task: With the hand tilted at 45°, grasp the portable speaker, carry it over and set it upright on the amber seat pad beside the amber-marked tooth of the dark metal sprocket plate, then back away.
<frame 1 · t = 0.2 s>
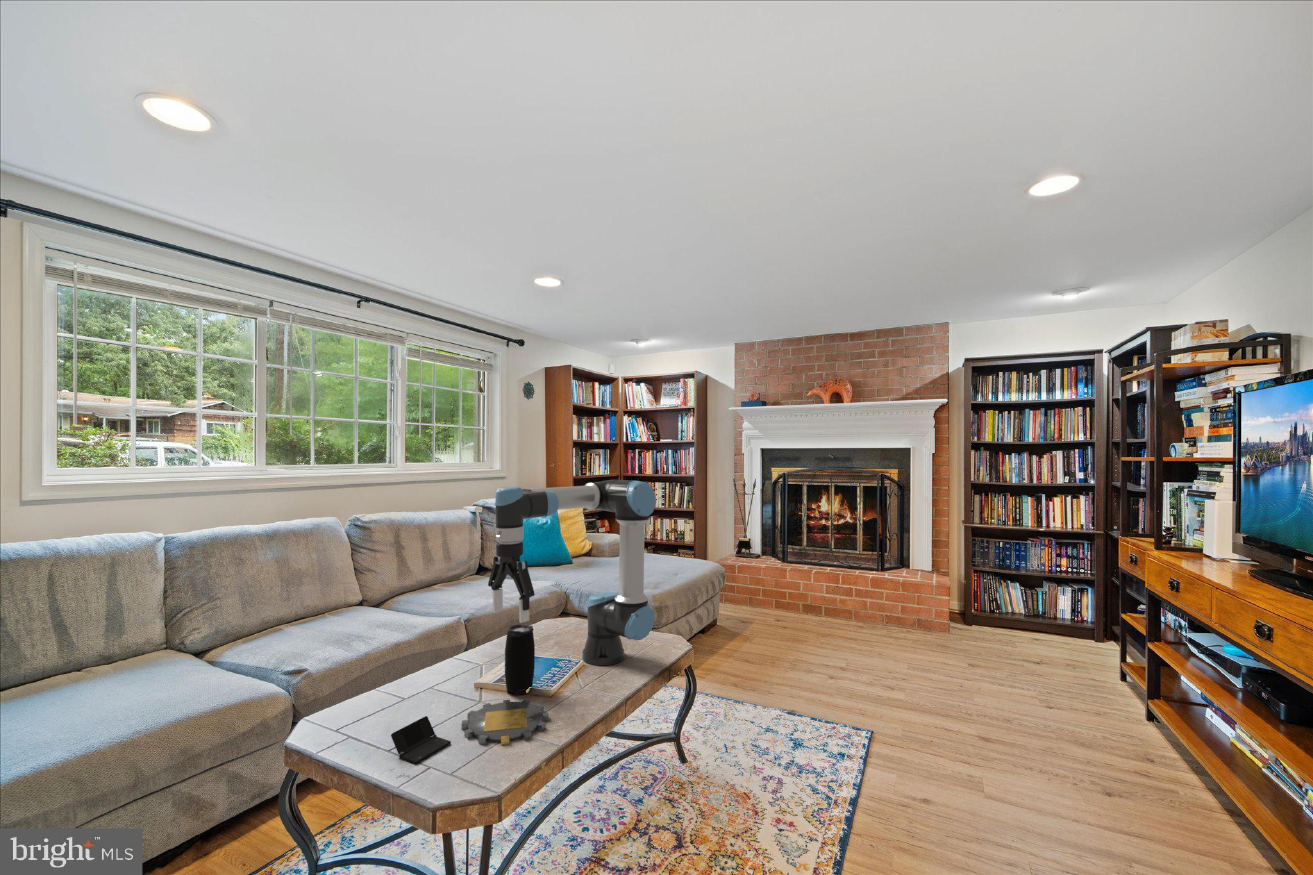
hand: (510, 616, 161), 28 cm above the table, tool pointing down, fingers open, 13 cm apart
sprocket plate: (505, 723, 156), on the table
handheld gaming console: (421, 751, 142), on the table
portable speaker: (519, 691, 177), on the table
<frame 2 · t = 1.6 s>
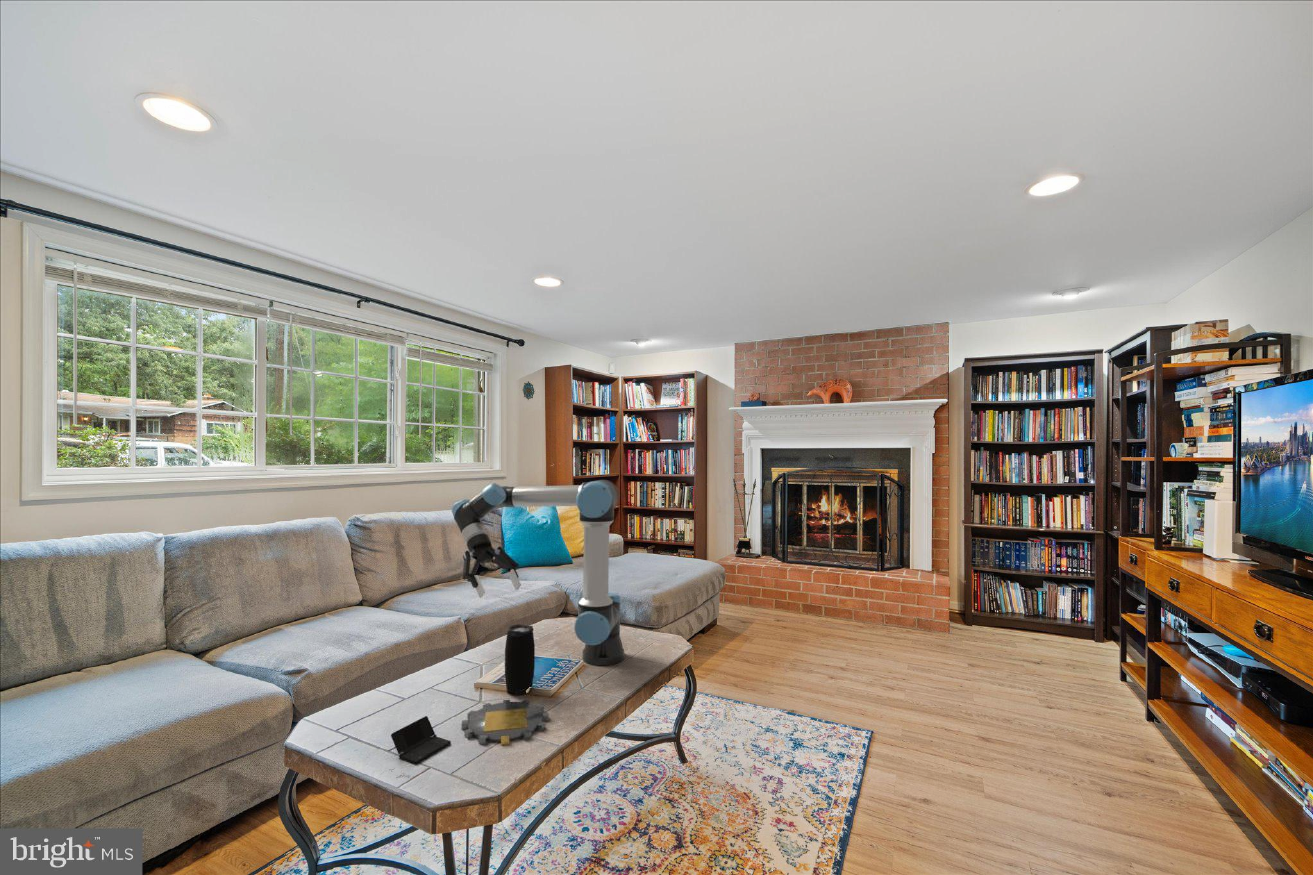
hand: (501, 591, 185), 29 cm above the table, tool tilted 45°, fingers open, 13 cm apart
nothing on the table moved.
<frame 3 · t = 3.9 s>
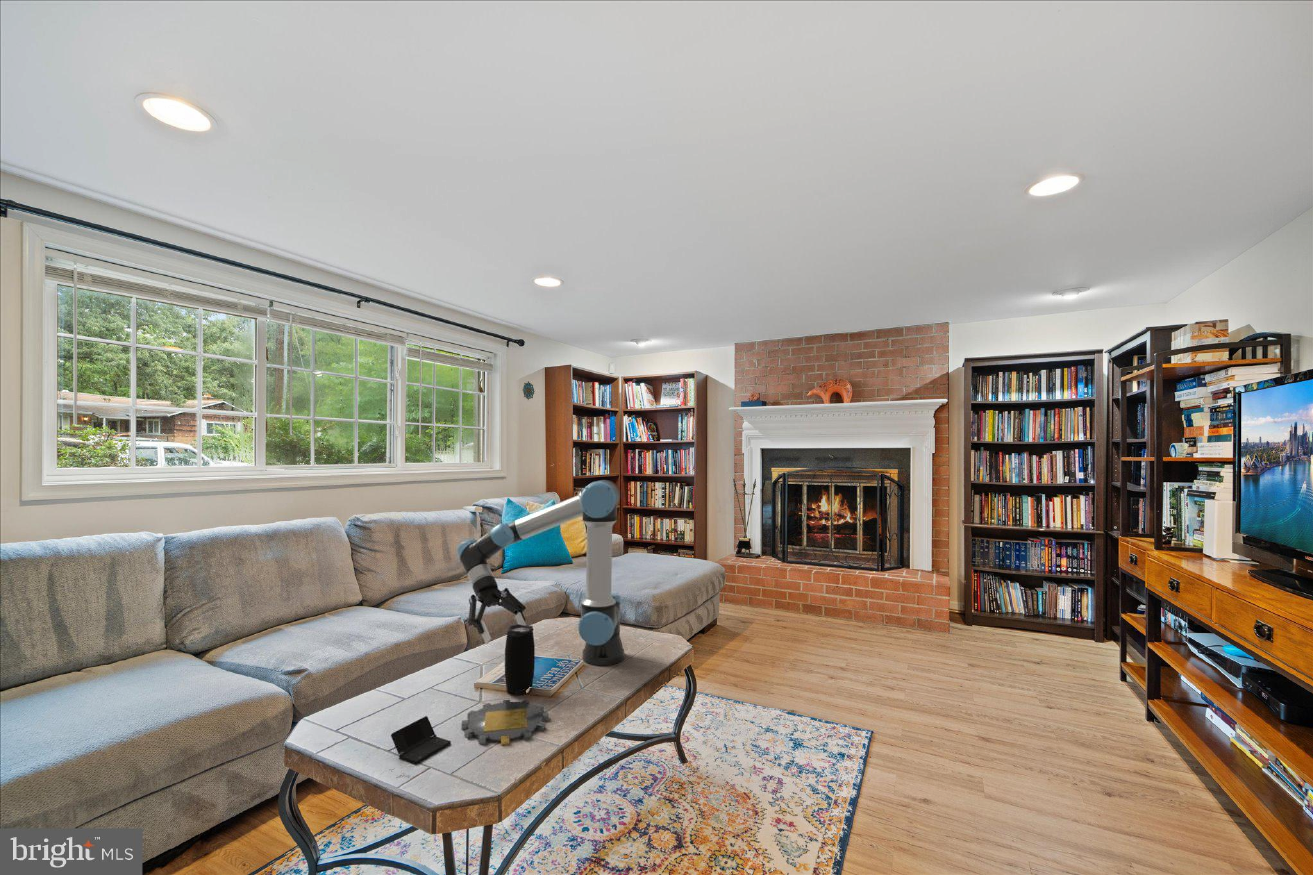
hand: (507, 636, 181), 16 cm above the table, tool tilted 45°, fingers open, 13 cm apart
nothing on the table moved.
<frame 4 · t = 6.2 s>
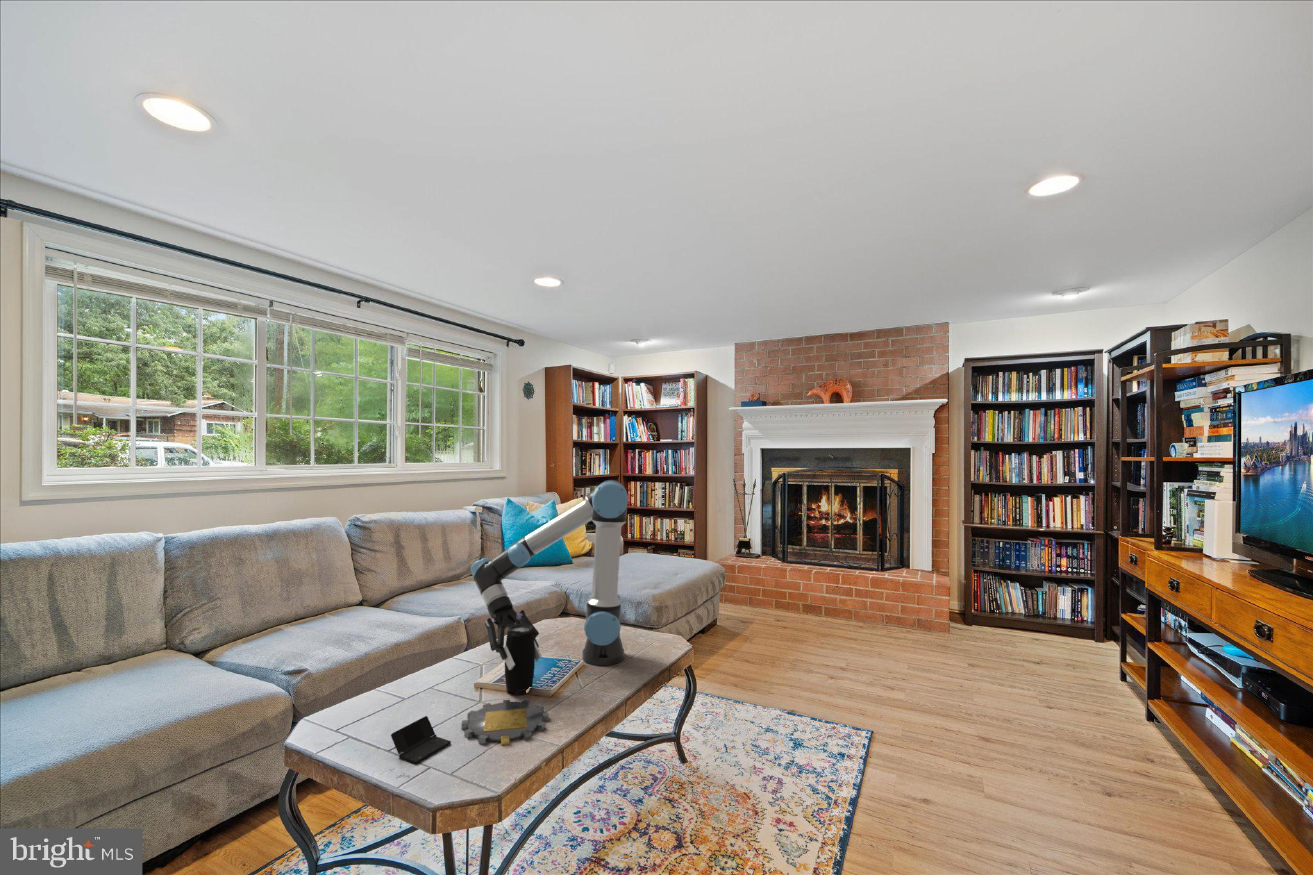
hand: (525, 662, 175), 9 cm above the table, tool tilted 45°, fingers closed on portable speaker, 9 cm apart
portable speaker: (519, 691, 177), on the table, touching gripper
everything else where it was.
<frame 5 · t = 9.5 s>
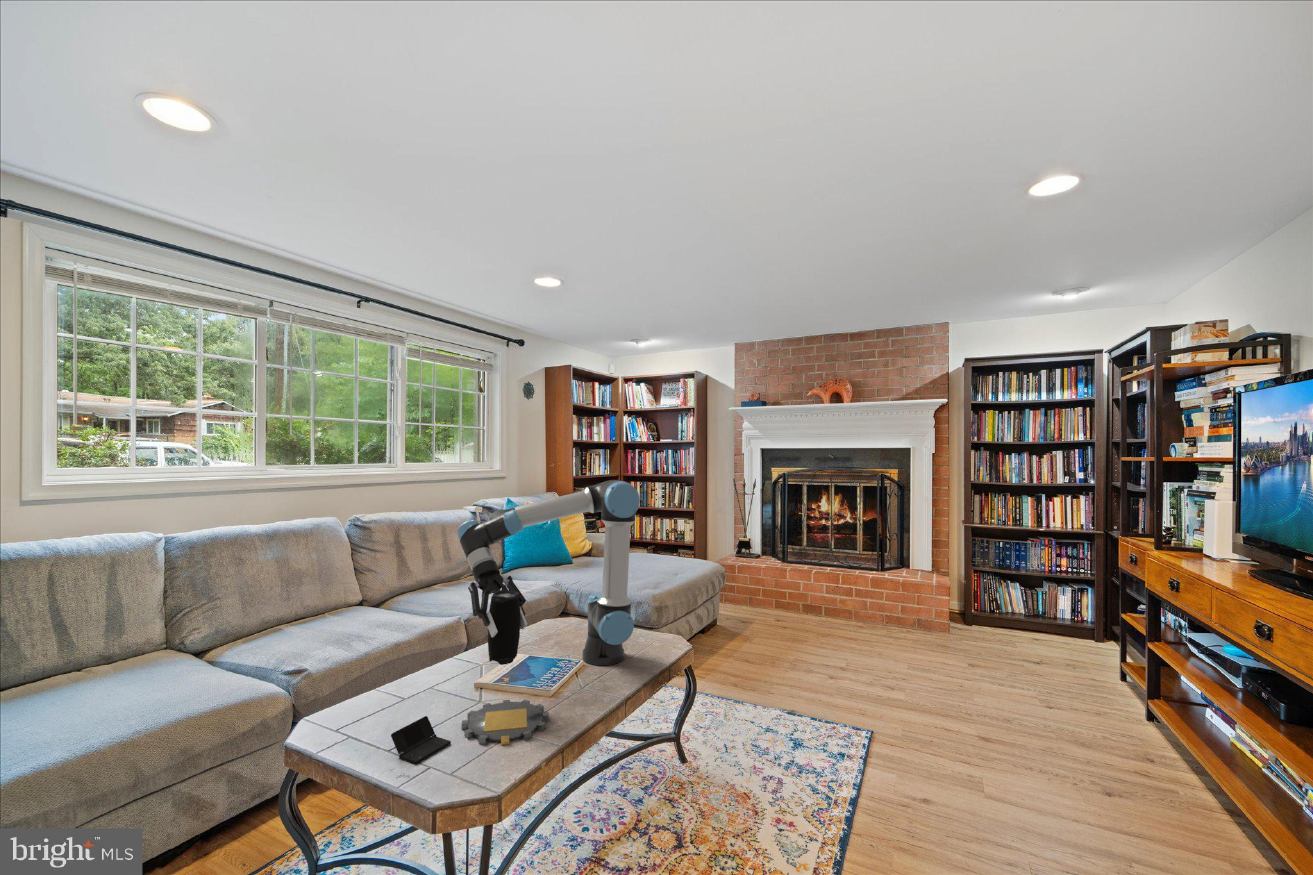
hand: (510, 630, 164), 23 cm above the table, tool tilted 45°, fingers closed on portable speaker, 9 cm apart
portable speaker: (502, 660, 166), point 13 cm above the table, touching gripper
everything else where it was.
when the fingers open (12 cm above the table, at t = 12.9 s): portable speaker drops 1 cm, resting on sprocket plate.
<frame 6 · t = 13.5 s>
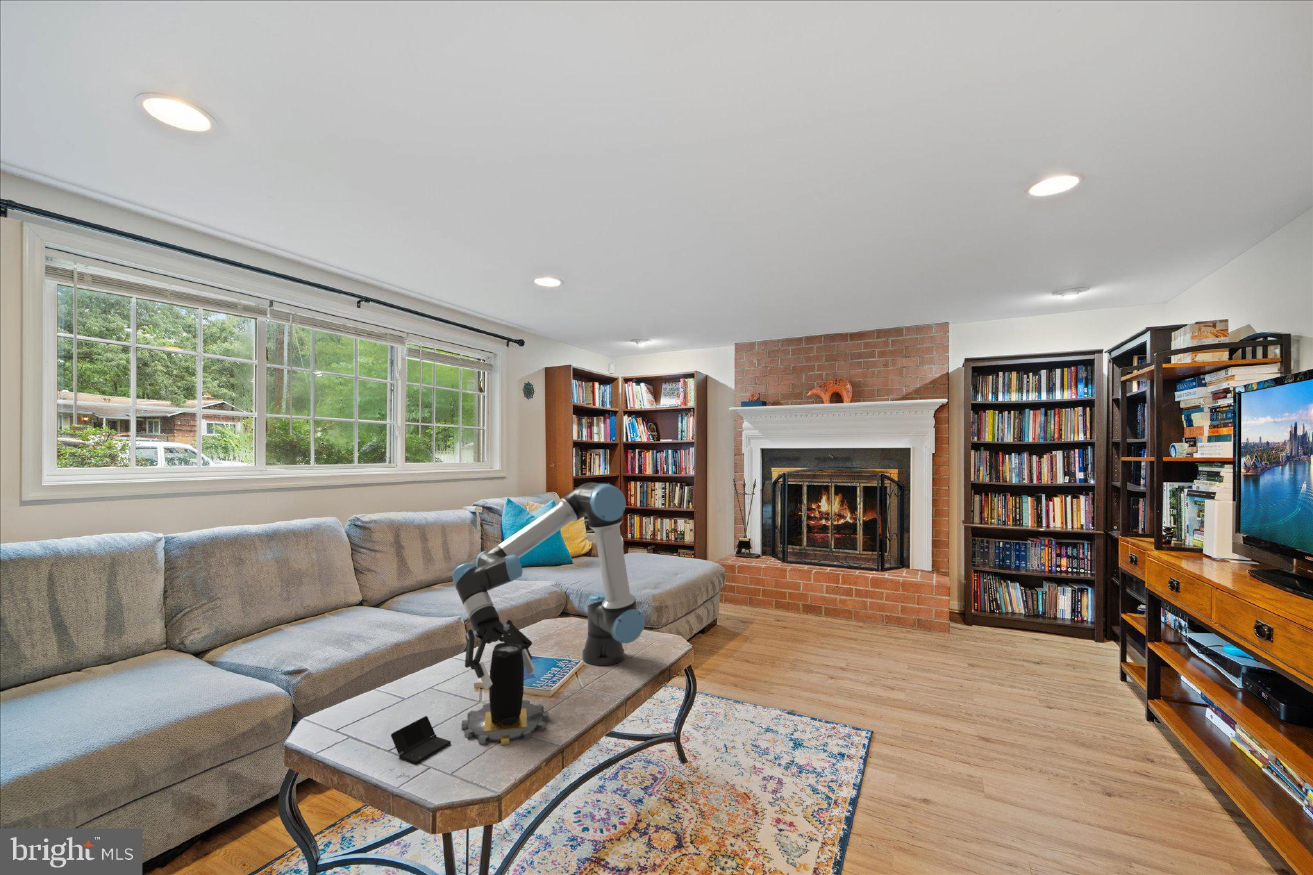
hand: (511, 679, 153), 13 cm above the table, tool tilted 45°, fingers open, 13 cm apart
portable speaker: (505, 719, 155), point 2 cm above the table, touching sprocket plate
everything else where it was.
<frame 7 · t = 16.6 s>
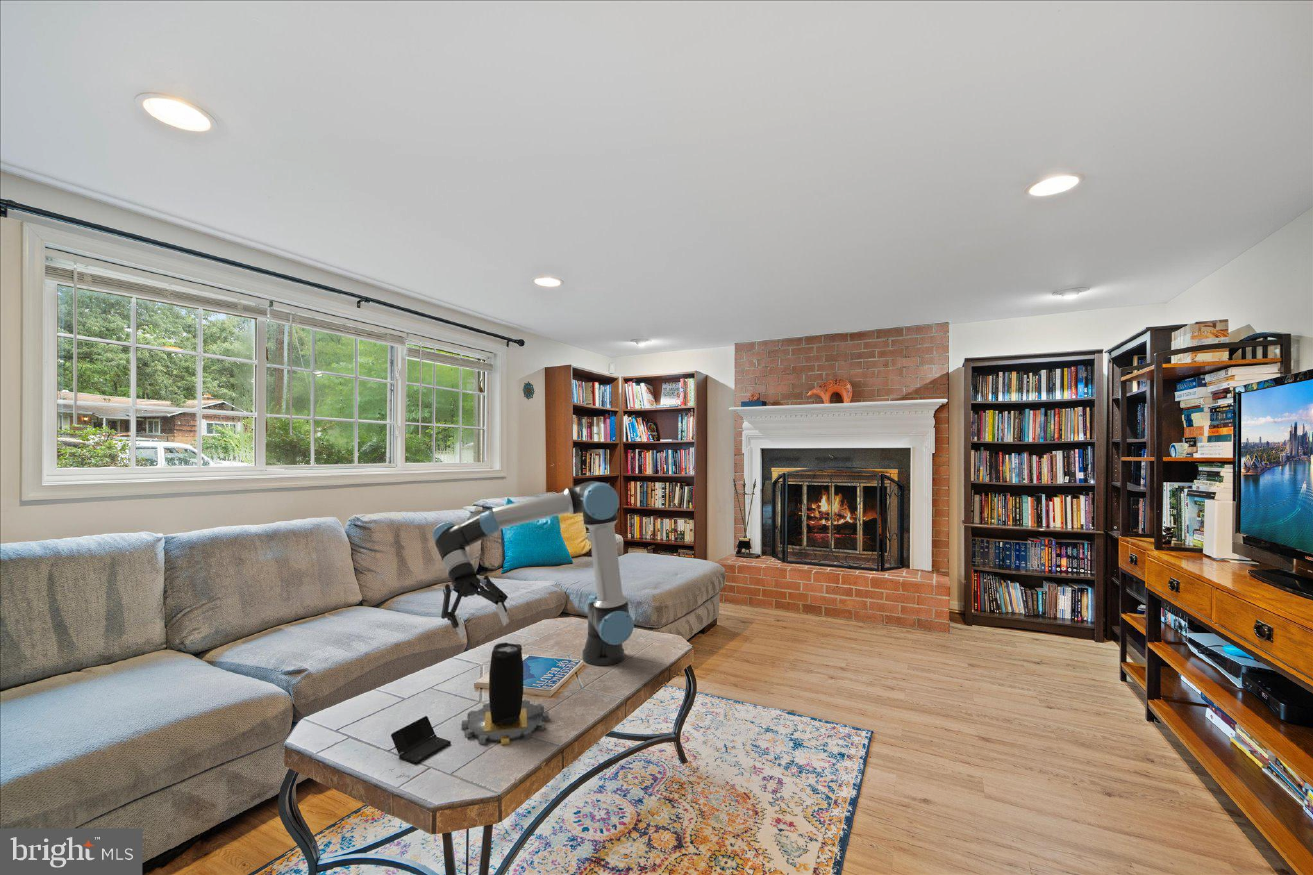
hand: (485, 630, 163), 23 cm above the table, tool tilted 45°, fingers open, 13 cm apart
nothing on the table moved.
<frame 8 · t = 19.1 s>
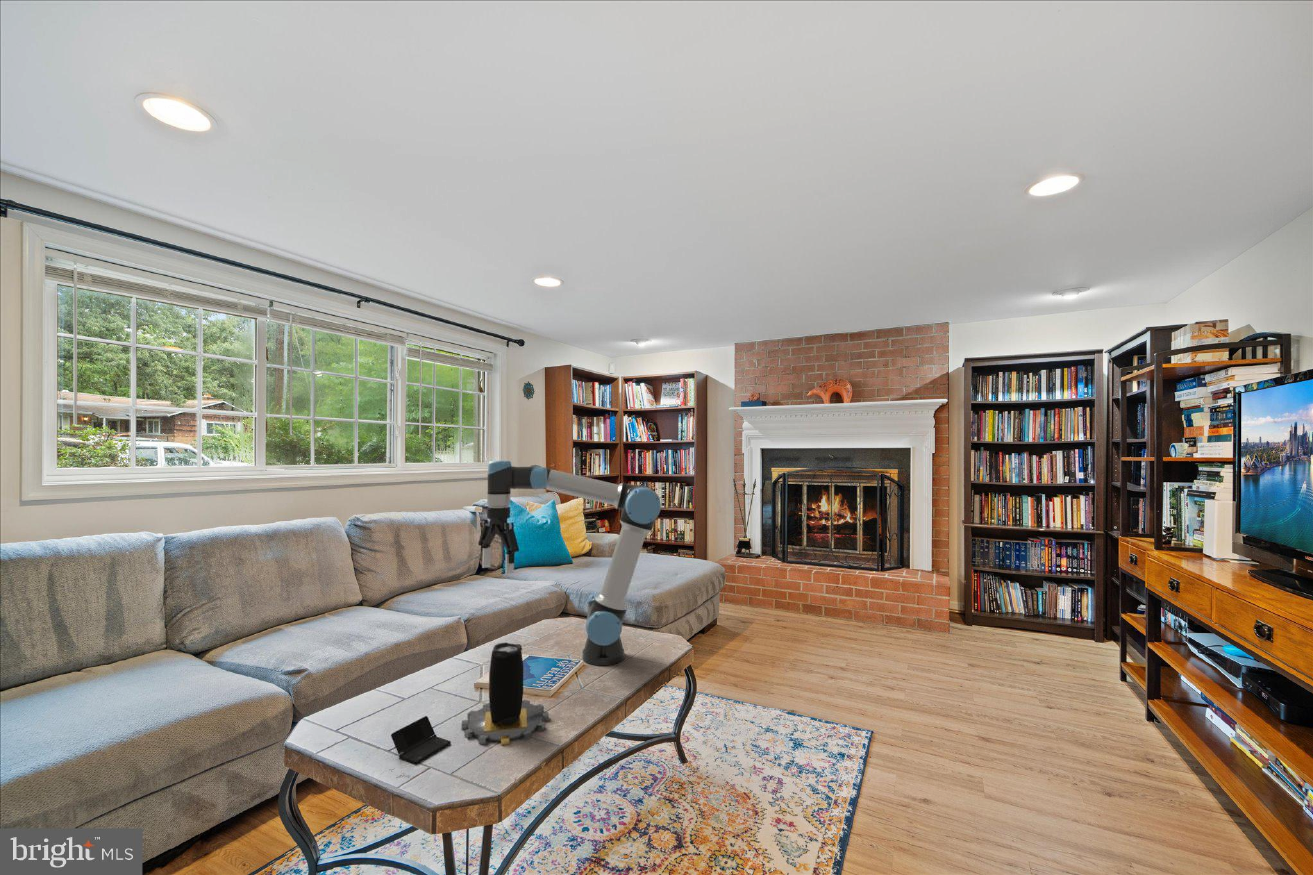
hand: (497, 570, 190), 35 cm above the table, tool pointing down, fingers open, 13 cm apart
nothing on the table moved.
at the end: portable speaker inside the target area on the sprocket plate (0.3 cm from its centre), point 1.6 cm above the sprocket plate's base; portable speaker tilted 0°; the gripper is holding nothing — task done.
